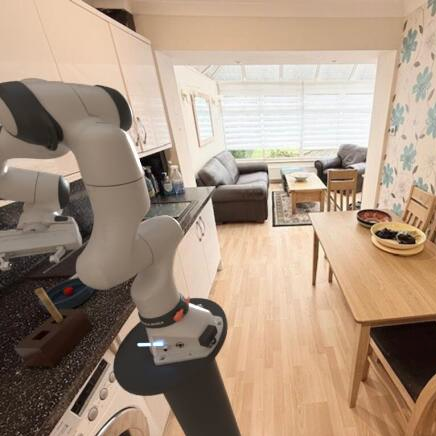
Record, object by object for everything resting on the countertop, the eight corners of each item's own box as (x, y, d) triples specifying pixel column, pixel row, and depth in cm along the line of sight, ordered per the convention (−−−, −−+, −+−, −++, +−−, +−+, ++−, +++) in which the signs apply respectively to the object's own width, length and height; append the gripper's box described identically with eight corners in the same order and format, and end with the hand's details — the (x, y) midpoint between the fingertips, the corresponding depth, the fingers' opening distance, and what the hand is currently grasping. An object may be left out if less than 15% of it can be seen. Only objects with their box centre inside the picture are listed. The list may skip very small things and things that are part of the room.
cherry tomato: (77, 291, 95) (73, 285, 94) (70, 296, 93) (66, 290, 91) (70, 291, 96) (67, 285, 94) (63, 296, 93) (59, 291, 92)
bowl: (104, 286, 99) (99, 276, 96) (72, 315, 85) (65, 305, 83) (71, 286, 100) (65, 277, 98) (34, 315, 86) (26, 305, 84)
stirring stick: (76, 335, 77) (43, 287, 68) (71, 339, 76) (37, 291, 67) (71, 334, 77) (38, 287, 69) (67, 339, 76) (32, 291, 67)
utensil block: (93, 326, 80) (82, 309, 76) (54, 366, 68) (39, 348, 64) (71, 326, 80) (59, 309, 77) (29, 366, 68) (13, 347, 65)
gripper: (-19, 224, 65) (-36, 267, 57) (79, 216, 75) (75, 252, 67) (-6, 238, 69) (-20, 280, 62) (85, 229, 79) (81, 264, 72)
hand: (30, 265), depth 65 cm, fingers open, 8 cm apart
